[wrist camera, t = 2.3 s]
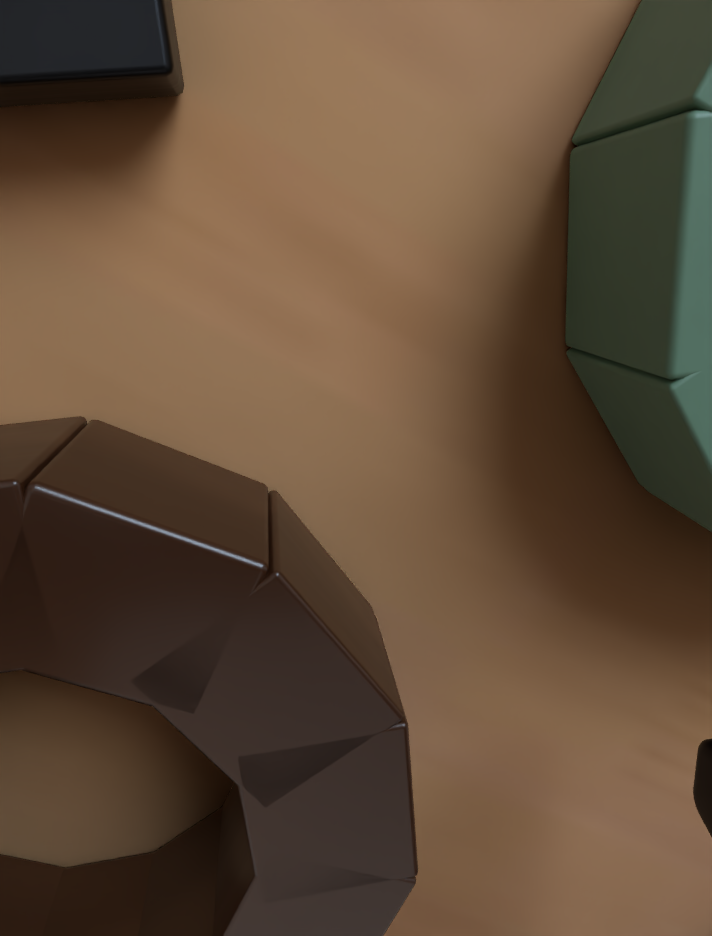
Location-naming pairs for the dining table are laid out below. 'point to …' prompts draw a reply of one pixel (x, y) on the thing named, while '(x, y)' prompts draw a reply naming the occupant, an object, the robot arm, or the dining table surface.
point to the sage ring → (649, 252)
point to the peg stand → (87, 51)
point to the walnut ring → (206, 689)
